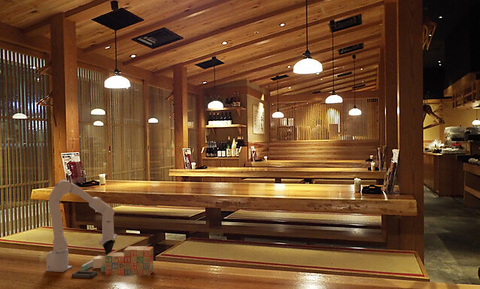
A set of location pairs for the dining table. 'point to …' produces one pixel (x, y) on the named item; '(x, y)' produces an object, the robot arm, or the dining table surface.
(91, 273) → the trap pit
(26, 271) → the dining table surface
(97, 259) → the cream block
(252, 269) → the dining table surface
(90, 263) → the lane walls
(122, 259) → the stack of blocks
